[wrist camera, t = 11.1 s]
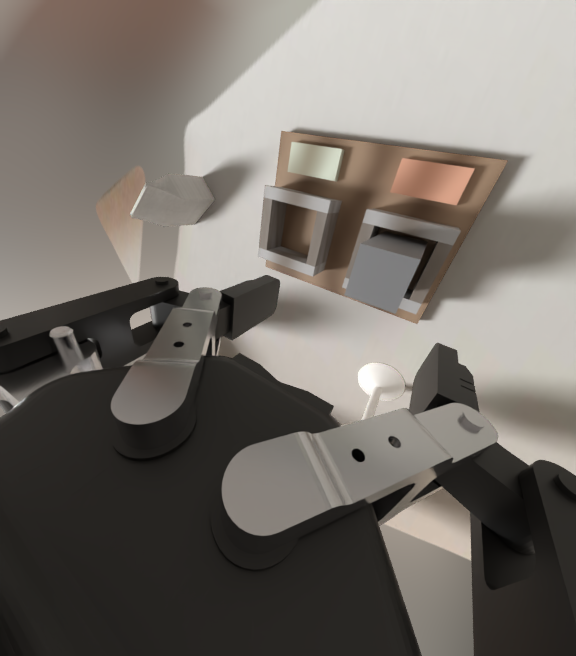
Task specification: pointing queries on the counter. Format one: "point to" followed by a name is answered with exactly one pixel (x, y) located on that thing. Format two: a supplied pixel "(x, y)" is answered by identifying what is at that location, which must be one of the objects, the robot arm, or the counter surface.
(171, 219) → the small milk carton
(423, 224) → the socket board
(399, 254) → the plug
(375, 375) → the champagne flute
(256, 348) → the counter surface
